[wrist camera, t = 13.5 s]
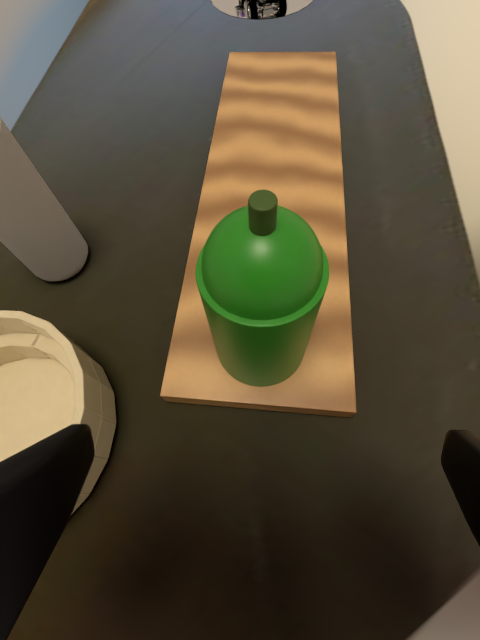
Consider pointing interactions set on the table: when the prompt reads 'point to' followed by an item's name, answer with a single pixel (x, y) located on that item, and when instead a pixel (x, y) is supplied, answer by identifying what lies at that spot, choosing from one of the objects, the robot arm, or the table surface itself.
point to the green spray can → (262, 289)
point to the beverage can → (35, 218)
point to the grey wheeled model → (260, 7)
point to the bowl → (51, 390)
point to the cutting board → (292, 193)
